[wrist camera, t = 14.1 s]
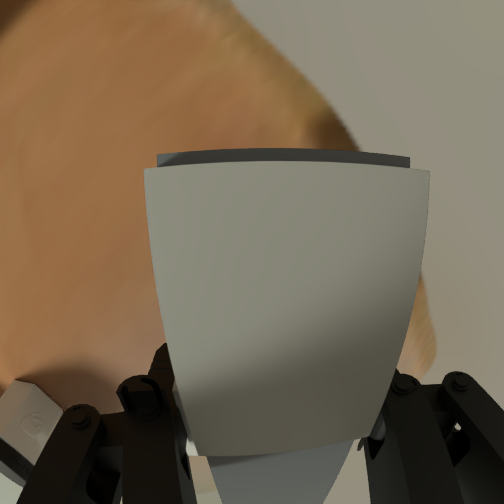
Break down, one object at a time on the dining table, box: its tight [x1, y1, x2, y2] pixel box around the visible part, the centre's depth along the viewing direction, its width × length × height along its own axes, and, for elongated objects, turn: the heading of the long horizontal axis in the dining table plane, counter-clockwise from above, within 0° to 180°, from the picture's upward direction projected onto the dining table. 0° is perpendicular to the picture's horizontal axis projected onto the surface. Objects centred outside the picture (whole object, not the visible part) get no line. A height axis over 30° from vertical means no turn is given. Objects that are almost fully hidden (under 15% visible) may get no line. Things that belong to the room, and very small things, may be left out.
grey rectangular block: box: [144, 148, 430, 504], centre depth 9 cm, size 14×4×8 cm, turn 1°
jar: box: [0, 380, 63, 488], centre depth 17 cm, size 9×8×12 cm
